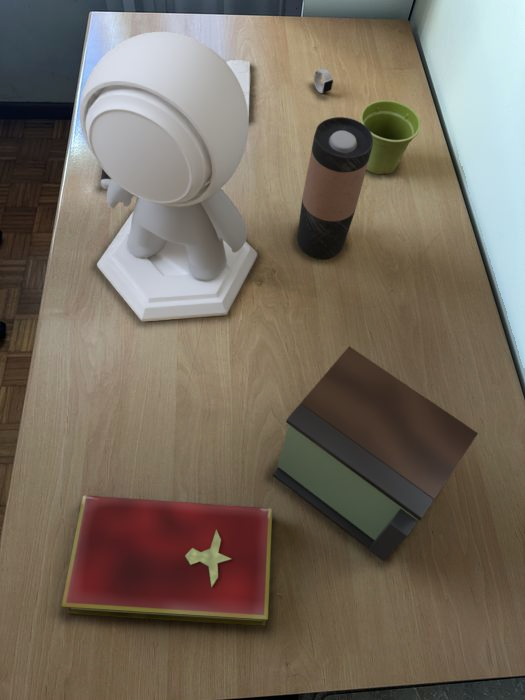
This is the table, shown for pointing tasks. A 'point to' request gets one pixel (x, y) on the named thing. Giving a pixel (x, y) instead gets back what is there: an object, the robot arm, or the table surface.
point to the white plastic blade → (242, 76)
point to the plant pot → (389, 133)
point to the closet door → (346, 493)
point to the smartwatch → (327, 80)
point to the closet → (379, 437)
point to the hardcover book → (170, 561)
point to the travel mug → (333, 185)
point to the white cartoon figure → (170, 173)
